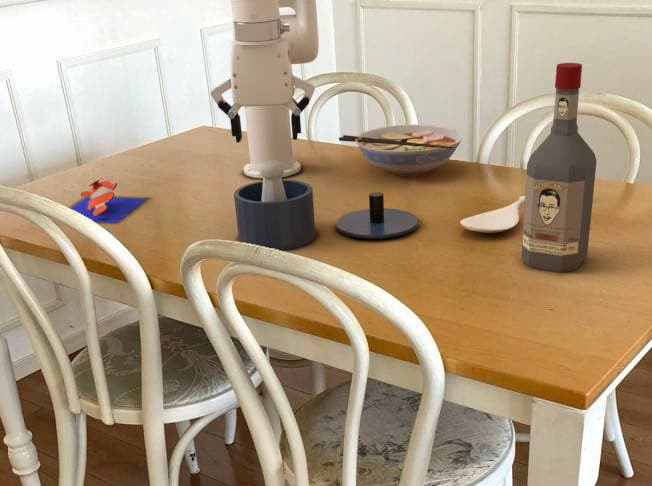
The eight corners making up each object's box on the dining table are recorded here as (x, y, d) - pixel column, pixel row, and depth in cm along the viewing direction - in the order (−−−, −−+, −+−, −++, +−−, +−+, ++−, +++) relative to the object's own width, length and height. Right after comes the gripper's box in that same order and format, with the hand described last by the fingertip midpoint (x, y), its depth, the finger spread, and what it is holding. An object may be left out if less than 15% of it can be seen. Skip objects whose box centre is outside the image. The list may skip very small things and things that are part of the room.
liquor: (536, 247, 147) (549, 58, 132) (590, 255, 143) (610, 61, 128) (516, 266, 141) (527, 69, 125) (572, 275, 136) (591, 72, 121)
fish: (90, 173, 179) (128, 174, 178) (94, 196, 182) (132, 197, 180) (60, 193, 168) (101, 193, 167) (65, 217, 171) (105, 218, 169)
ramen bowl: (482, 162, 193) (484, 124, 189) (442, 192, 176) (442, 151, 172) (380, 153, 203) (379, 117, 199) (333, 180, 186) (330, 141, 182)
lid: (336, 216, 166) (335, 183, 163) (415, 212, 166) (414, 180, 163) (336, 243, 153) (334, 209, 150) (420, 239, 153) (420, 205, 150)
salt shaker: (261, 230, 160) (254, 158, 153) (292, 227, 160) (286, 156, 153) (261, 240, 155) (254, 167, 148) (293, 238, 155) (287, 165, 148)
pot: (243, 226, 163) (238, 181, 159) (316, 223, 163) (313, 177, 159) (235, 252, 152) (230, 204, 147) (314, 249, 151) (310, 201, 147)
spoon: (592, 198, 168) (594, 180, 166) (490, 245, 149) (491, 225, 147) (552, 190, 174) (553, 172, 172) (449, 234, 155) (449, 215, 153)
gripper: (311, 25, 144) (318, 131, 153) (207, 30, 144) (219, 135, 153) (310, 33, 138) (317, 143, 147) (200, 38, 138) (214, 147, 147)
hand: (267, 139), depth 150 cm, fingers open, 9 cm apart
